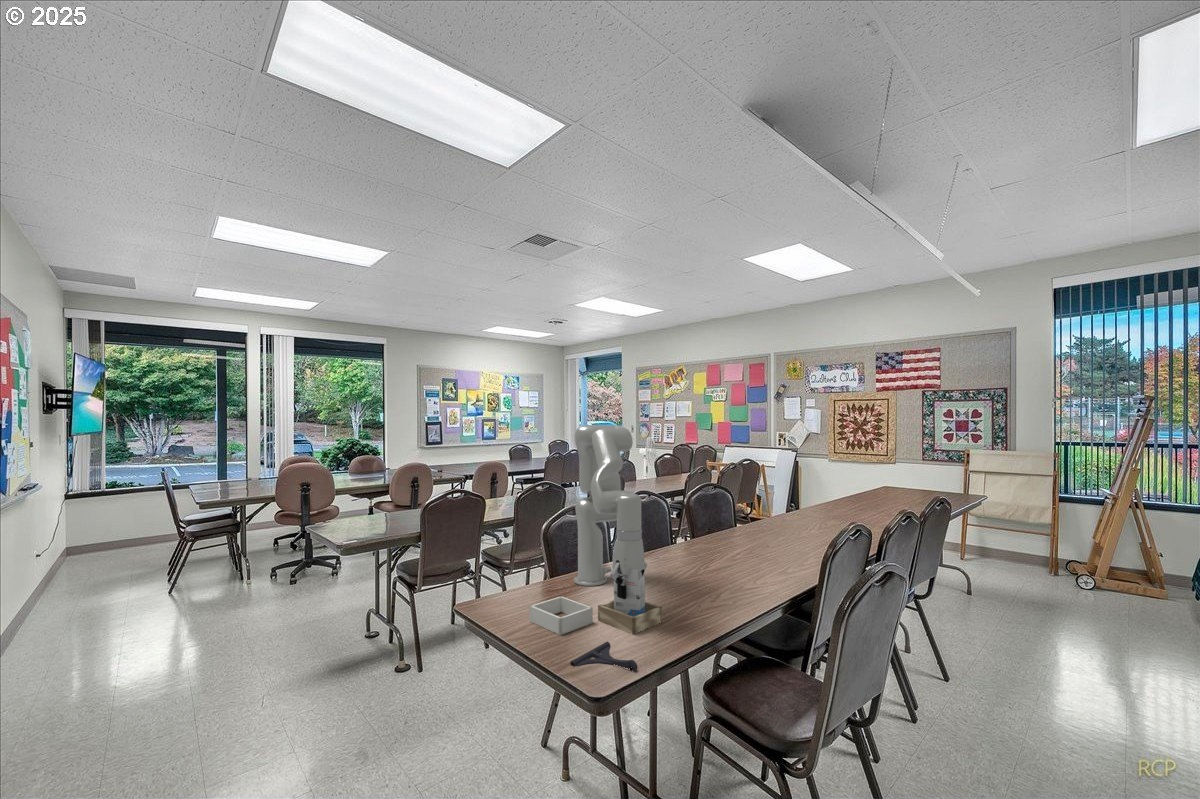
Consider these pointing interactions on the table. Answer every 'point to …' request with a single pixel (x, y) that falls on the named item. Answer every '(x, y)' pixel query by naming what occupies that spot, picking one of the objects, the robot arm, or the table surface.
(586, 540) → the robot arm
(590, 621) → the frame
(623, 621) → the frame
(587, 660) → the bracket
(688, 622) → the table surface
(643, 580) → the ink box
